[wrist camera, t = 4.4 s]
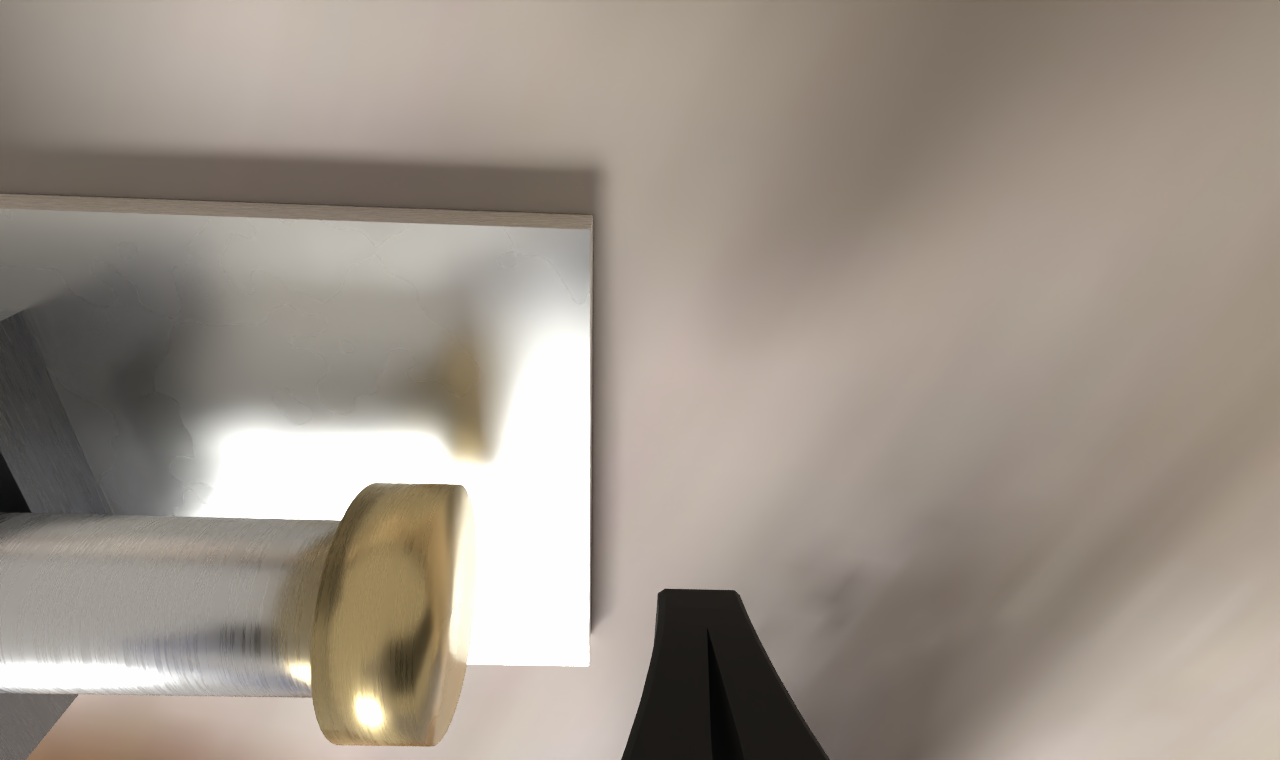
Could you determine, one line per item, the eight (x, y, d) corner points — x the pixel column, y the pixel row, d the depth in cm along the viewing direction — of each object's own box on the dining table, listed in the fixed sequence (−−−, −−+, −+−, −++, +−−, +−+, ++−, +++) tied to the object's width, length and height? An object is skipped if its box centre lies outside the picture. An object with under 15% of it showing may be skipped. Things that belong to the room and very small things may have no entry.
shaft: (466, 437, 13) (397, 619, 9) (483, 600, 15) (433, 803, 11) (-325, 416, 13) (-751, 598, 9) (-194, 587, 15) (-488, 793, 11)
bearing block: (592, 215, 13) (560, 391, 7) (590, 635, 19) (571, 933, 13) (-582, 172, 13) (-1739, 326, 6) (-215, 621, 18) (-639, 928, 12)
